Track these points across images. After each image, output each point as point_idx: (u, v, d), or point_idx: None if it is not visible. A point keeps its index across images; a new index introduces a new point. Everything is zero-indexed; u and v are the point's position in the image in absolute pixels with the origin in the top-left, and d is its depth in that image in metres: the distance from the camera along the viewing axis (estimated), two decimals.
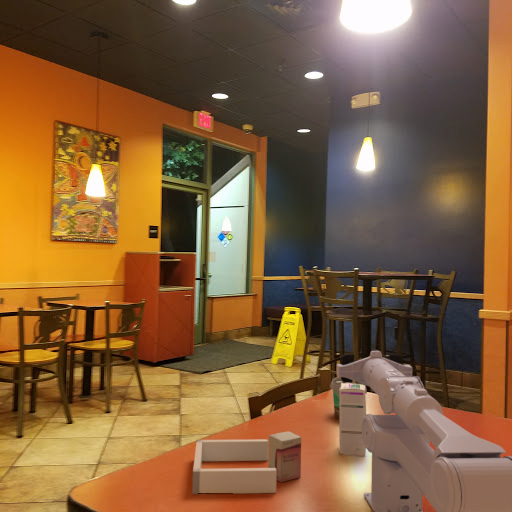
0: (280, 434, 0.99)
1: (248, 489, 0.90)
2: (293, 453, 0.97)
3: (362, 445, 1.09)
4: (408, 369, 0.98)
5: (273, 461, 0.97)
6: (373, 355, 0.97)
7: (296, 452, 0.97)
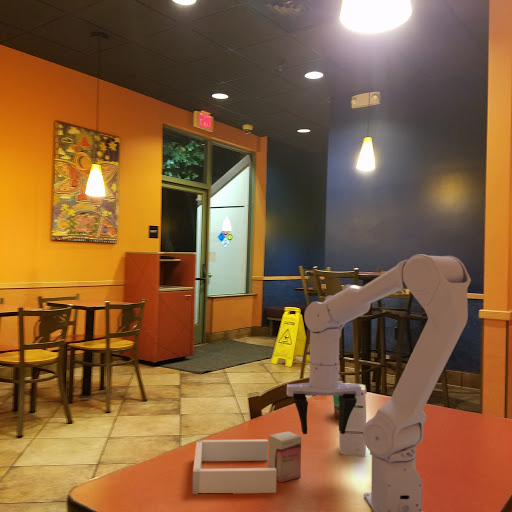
0: (280, 434, 0.99)
1: (248, 489, 0.90)
2: (293, 453, 0.97)
3: (362, 445, 1.09)
4: None
5: (273, 461, 0.97)
6: None
7: (296, 452, 0.97)
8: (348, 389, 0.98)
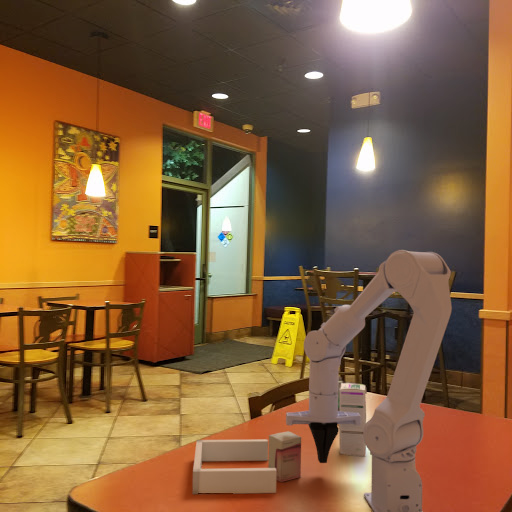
0: (280, 434, 0.99)
1: (248, 489, 0.90)
2: (293, 453, 0.97)
3: (362, 445, 1.09)
4: None
5: (273, 461, 0.97)
6: None
7: (296, 452, 0.97)
8: (348, 419, 0.98)
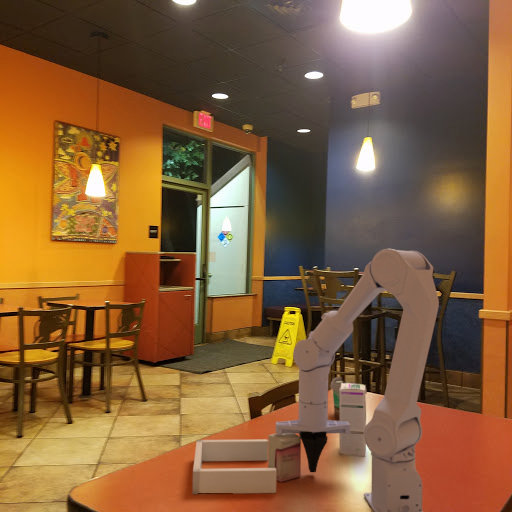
0: None
1: (248, 489, 0.90)
2: (292, 453, 0.97)
3: (362, 445, 1.09)
4: None
5: (273, 461, 0.97)
6: None
7: (296, 452, 0.97)
8: (337, 428, 0.98)
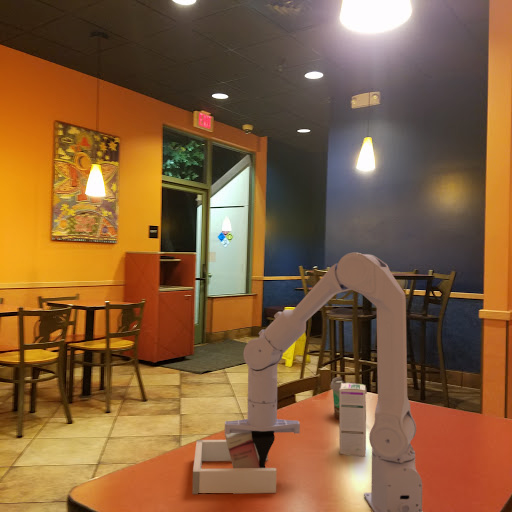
0: None
1: (248, 489, 0.90)
2: (244, 450, 0.96)
3: (362, 445, 1.09)
4: None
5: None
6: None
7: (248, 449, 0.96)
8: (286, 427, 0.97)
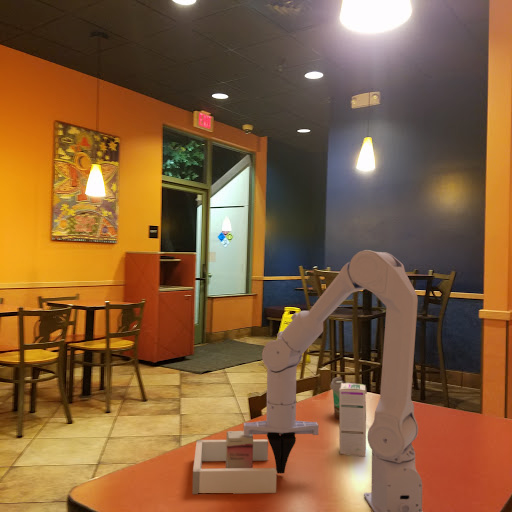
0: (237, 432, 1.00)
1: (248, 489, 0.90)
2: (242, 452, 0.97)
3: (362, 445, 1.09)
4: None
5: (226, 457, 0.99)
6: None
7: (246, 452, 0.97)
8: (305, 428, 0.97)
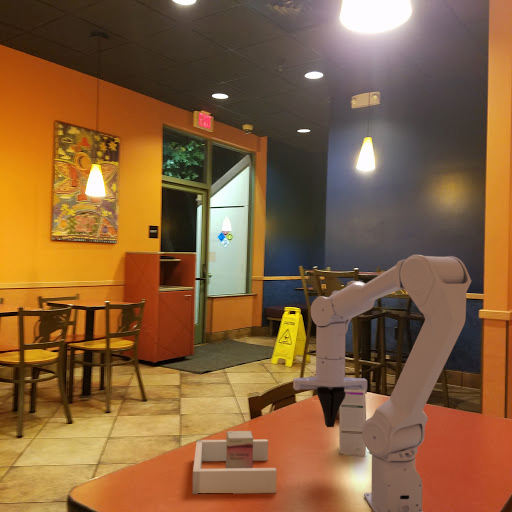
0: (237, 432, 1.00)
1: (248, 489, 0.90)
2: (242, 452, 0.97)
3: (362, 445, 1.09)
4: None
5: (226, 457, 0.99)
6: None
7: (246, 452, 0.97)
8: (354, 383, 0.99)
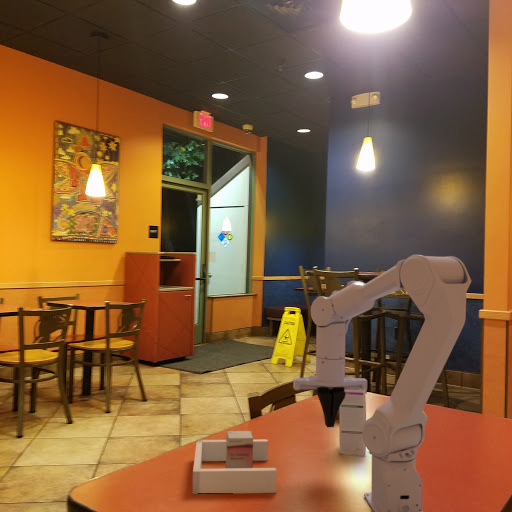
0: (237, 432, 1.00)
1: (248, 489, 0.90)
2: (242, 452, 0.97)
3: (362, 445, 1.09)
4: None
5: (226, 457, 0.99)
6: None
7: (246, 452, 0.97)
8: (354, 383, 0.99)
